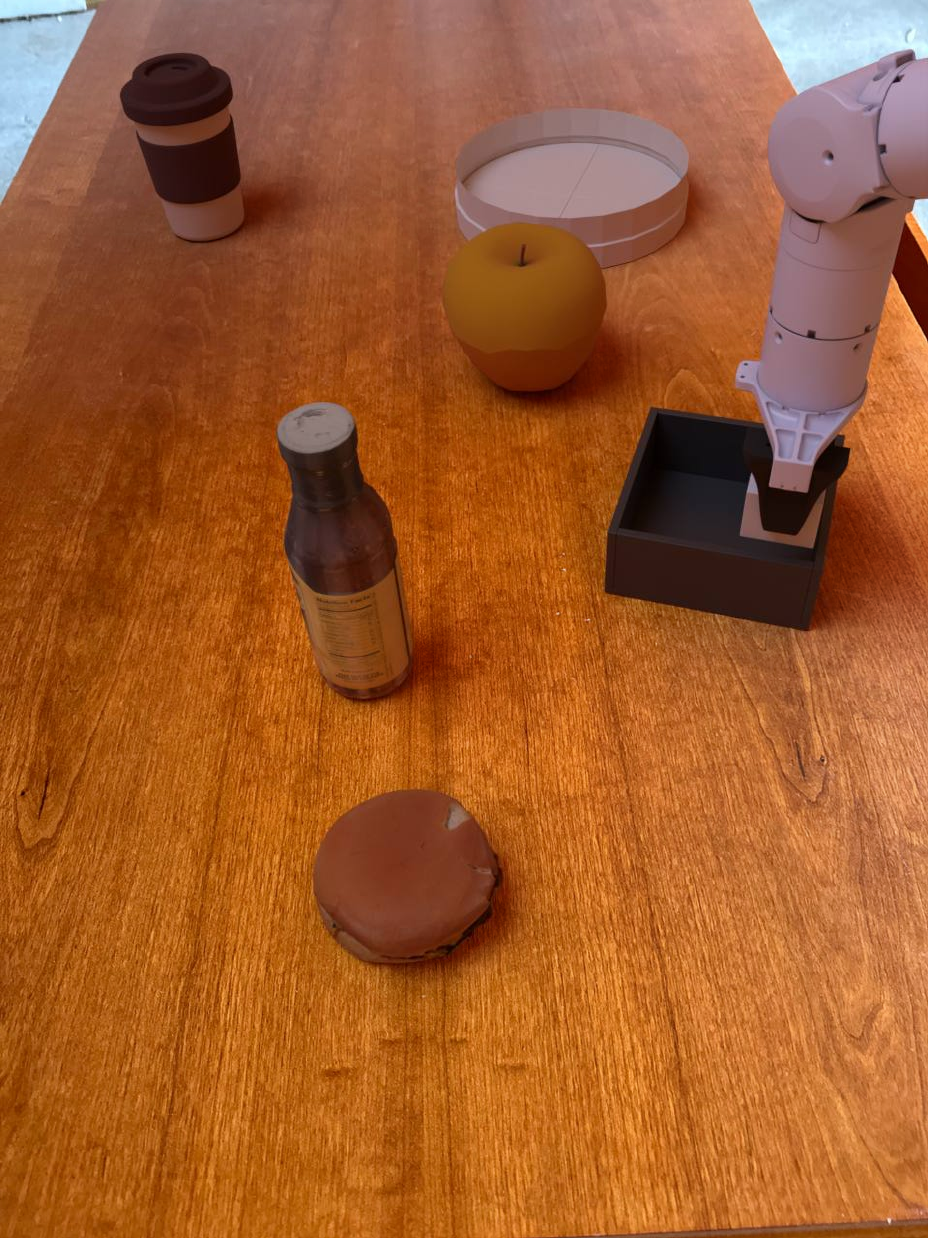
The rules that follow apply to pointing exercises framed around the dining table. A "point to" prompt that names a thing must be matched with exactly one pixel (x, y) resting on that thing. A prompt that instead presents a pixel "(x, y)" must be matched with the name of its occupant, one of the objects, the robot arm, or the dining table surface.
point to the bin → (706, 527)
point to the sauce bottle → (343, 556)
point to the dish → (577, 179)
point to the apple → (525, 304)
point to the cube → (754, 530)
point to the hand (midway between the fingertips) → (785, 504)
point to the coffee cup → (188, 142)
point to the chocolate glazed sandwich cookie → (405, 877)
